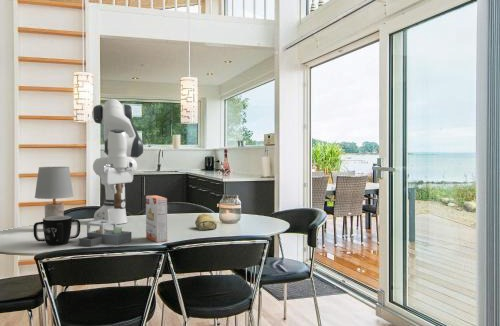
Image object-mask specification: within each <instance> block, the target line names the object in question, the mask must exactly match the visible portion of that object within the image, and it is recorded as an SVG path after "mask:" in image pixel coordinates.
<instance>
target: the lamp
mask: <svg viewBox="0 0 500 326" xmlns="http://www.w3.org/2000/svg"><path fill="white" fill-rule="evenodd" d="M36 179H37V180H36V187H35V193H34V199H40V200H41V199H42V200H52V202H46V204H44V218H46V217H52V216H65V214H64V213H65V212H64V211H65V209H64V206H65V205H64V203H62V202H60V201H57V202H56V200H58V199H69V198H73V197H74V192H73V185H72V177H71V171H70V167H69V166H40V167H38V173H37V178H36Z"/></svg>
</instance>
